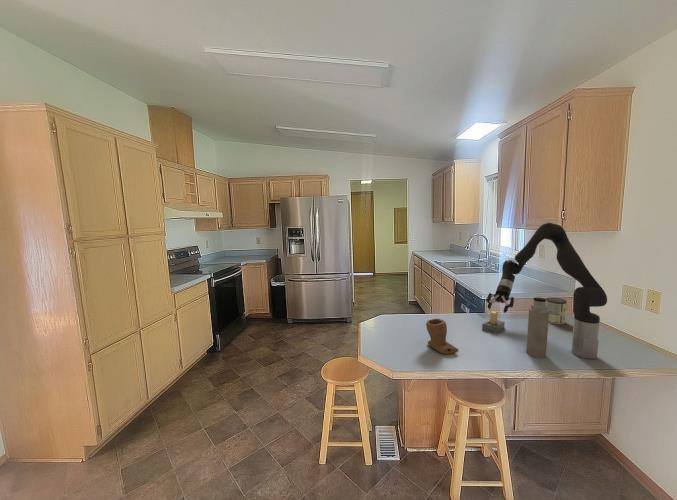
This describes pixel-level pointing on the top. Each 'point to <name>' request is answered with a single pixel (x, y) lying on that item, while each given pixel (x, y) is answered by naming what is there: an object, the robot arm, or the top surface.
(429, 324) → the brown boot-shaped pot
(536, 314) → the thermos bottle
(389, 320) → the top surface
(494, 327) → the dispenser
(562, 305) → the coffee can
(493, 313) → the tall tan rectangular block
